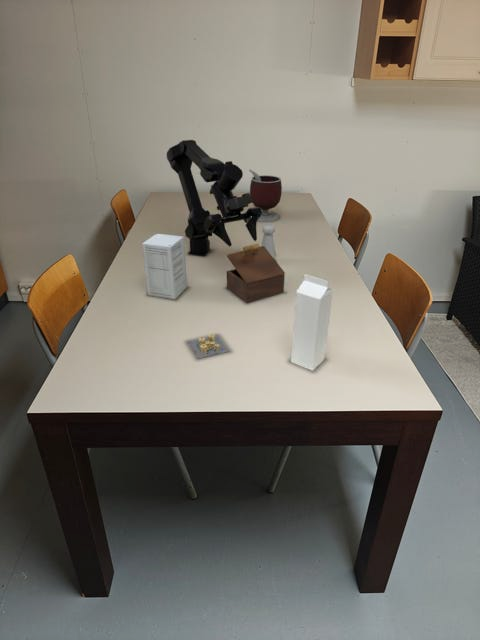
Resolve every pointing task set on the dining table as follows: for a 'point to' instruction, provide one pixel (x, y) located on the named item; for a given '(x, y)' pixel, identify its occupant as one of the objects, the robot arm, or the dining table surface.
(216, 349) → the dice set
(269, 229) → the salt shaker
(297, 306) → the milk
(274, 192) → the mate gourd
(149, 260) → the supplement box
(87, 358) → the dining table surface
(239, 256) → the tea lid
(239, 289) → the tea box
